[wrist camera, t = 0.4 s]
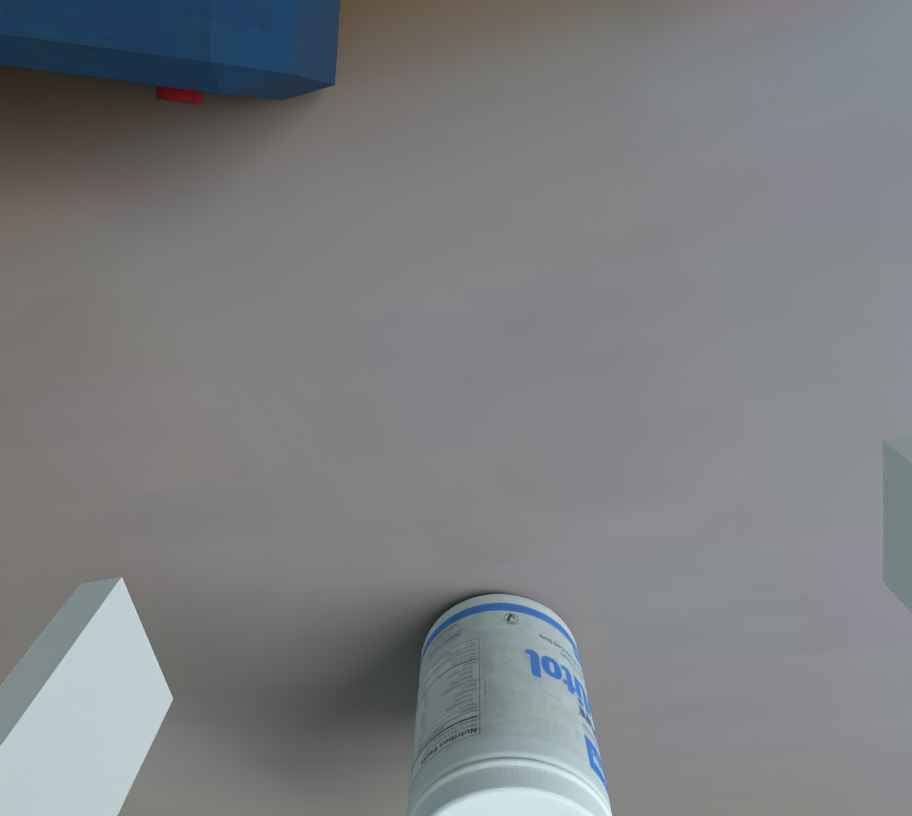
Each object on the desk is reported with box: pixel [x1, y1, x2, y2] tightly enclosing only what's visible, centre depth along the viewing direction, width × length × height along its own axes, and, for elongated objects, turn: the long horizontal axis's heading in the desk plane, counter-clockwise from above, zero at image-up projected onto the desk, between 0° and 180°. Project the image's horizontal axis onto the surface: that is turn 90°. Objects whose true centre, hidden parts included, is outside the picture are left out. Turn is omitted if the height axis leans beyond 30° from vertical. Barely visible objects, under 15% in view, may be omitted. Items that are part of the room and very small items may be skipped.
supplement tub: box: [407, 594, 612, 816], centre depth 40 cm, size 10×10×15 cm
